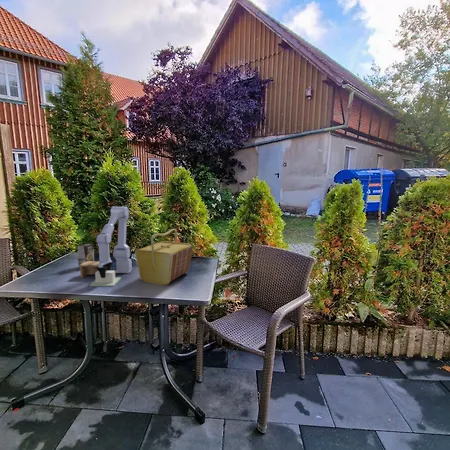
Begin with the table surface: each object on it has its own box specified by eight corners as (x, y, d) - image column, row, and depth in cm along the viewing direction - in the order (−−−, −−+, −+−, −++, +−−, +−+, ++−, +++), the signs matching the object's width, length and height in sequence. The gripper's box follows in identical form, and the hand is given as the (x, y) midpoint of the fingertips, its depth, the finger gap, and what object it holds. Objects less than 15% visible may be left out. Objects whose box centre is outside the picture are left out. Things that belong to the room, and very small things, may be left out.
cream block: (98, 279, 179) (98, 270, 178) (115, 279, 180) (114, 270, 179) (95, 282, 175) (95, 272, 174) (112, 282, 175) (112, 272, 174)
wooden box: (107, 273, 193) (107, 261, 192) (103, 277, 185) (102, 264, 184) (86, 273, 193) (85, 261, 191) (80, 277, 185) (79, 264, 183)
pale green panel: (121, 278, 185) (121, 277, 184) (113, 286, 171) (113, 285, 171) (98, 278, 184) (98, 277, 184) (89, 286, 170) (89, 285, 170)
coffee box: (86, 269, 202) (85, 246, 200) (78, 268, 203) (76, 245, 201) (94, 265, 211) (93, 243, 209) (87, 264, 212) (85, 243, 210)
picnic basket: (171, 288, 170) (170, 237, 165) (134, 282, 178) (132, 233, 174) (193, 273, 197) (193, 229, 192) (160, 268, 205) (159, 226, 201)
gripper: (106, 257, 168) (107, 279, 170) (115, 250, 182) (116, 272, 184) (94, 256, 167) (95, 279, 170) (103, 250, 182) (104, 272, 184)
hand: (105, 275), depth 177 cm, fingers open, 7 cm apart
